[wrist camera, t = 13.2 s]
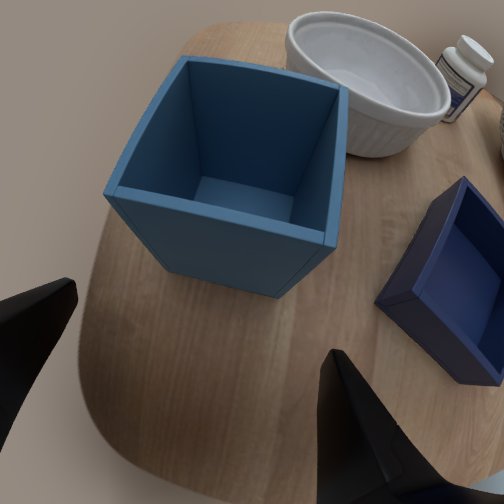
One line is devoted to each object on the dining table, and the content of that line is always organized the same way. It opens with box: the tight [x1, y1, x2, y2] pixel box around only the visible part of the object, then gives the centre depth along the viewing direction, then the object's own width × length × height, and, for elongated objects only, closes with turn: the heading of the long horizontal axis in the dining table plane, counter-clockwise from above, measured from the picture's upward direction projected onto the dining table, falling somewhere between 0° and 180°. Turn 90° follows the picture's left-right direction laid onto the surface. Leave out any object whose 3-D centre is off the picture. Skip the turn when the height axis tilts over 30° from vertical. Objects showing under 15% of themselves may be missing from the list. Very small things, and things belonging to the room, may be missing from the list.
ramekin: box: [285, 12, 451, 158], centre depth 19 cm, size 13×13×7 cm
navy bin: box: [374, 176, 504, 387], centre depth 16 cm, size 10×10×4 cm
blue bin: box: [103, 55, 349, 298], centre depth 14 cm, size 7×7×10 cm
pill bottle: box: [435, 35, 494, 122], centre depth 20 cm, size 5×5×10 cm
